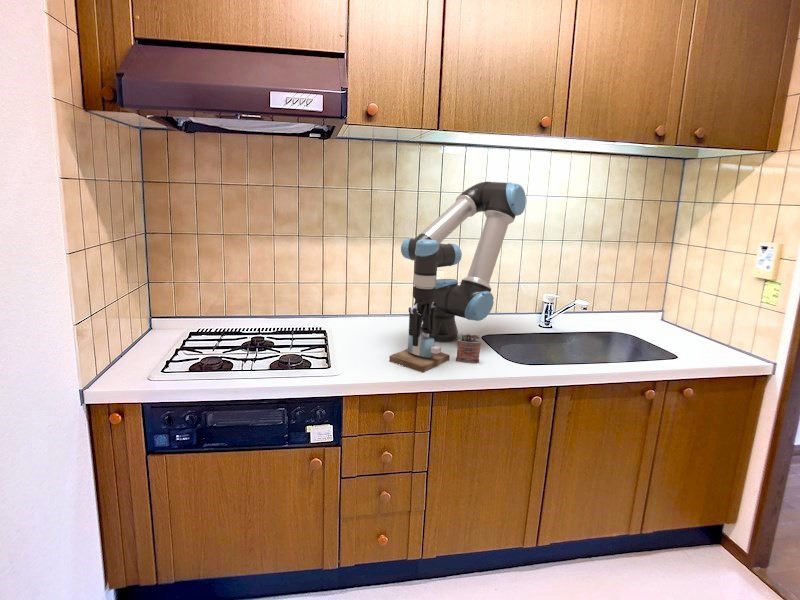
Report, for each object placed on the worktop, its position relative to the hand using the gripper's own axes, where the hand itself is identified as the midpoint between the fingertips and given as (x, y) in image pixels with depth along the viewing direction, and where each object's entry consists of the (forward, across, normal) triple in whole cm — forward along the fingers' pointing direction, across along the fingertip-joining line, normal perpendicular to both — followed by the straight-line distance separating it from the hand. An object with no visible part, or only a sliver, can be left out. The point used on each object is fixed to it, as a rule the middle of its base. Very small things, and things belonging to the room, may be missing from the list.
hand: (420, 352), depth 171 cm
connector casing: (0, 0, +1) cm, 1 cm away
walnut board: (+3, 0, 0) cm, 3 cm away
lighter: (+3, -12, +12) cm, 17 cm away
